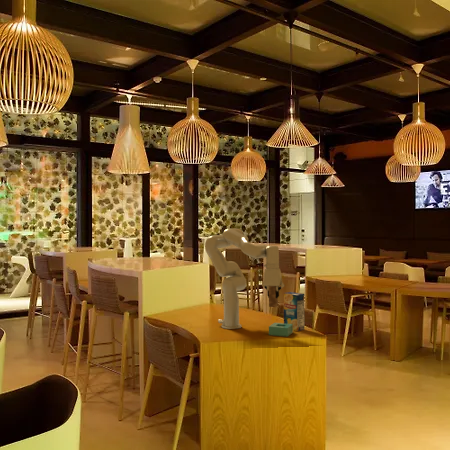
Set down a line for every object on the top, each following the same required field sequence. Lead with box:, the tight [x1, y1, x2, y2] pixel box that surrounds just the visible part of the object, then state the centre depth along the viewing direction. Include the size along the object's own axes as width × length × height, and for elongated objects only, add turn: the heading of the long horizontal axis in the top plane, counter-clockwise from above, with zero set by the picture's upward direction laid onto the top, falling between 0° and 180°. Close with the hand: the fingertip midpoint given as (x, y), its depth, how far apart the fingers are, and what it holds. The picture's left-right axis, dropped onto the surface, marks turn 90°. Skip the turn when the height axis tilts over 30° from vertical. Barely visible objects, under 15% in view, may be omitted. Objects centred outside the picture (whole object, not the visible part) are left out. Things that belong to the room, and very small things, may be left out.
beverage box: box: [283, 291, 305, 332], centre depth 320 cm, size 7×11×22 cm, turn 42°
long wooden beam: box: [268, 286, 279, 308], centre depth 307 cm, size 4×4×14 cm
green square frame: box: [268, 322, 294, 338], centre depth 308 cm, size 11×11×5 cm
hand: (273, 297), depth 307 cm, fingers closed on long wooden beam, 4 cm apart
